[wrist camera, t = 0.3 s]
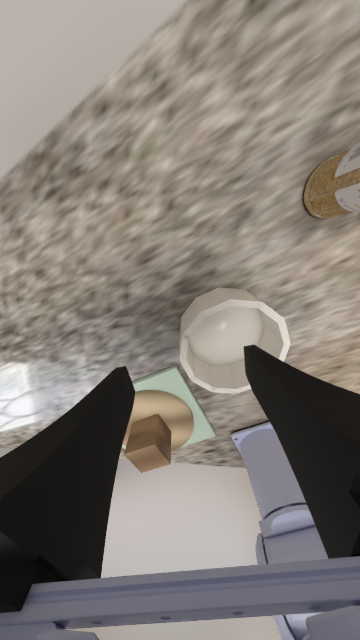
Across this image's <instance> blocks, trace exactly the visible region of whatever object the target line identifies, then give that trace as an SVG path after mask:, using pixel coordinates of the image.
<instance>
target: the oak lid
mask: <svg viewBox="0 0 360 640" xmlns="http://www.w3.org/2000/svg"><path fill="white" fill-rule="evenodd" d="M193 430H194V420H193V414H192V411H191V409H190V407H189V406H188V405H187V404H186V403H185V402H184V401H183V400H182V399H181V398H179V397H177V396H176V395H173V394H171V393H168V392H165V391H160V390H142V391H137V392H135V399H134V405H133V410H132V413H131V417H130V420H129V424H128V427H127V430H126V434H125V437H124V441H123V444H122V445H124V446H126V449H125V452H124V455H125V456H126V457H127V458H128V459H129V460H130V461H131V462H132V463H133V464H134V465H135V467H137V468H138V470H139V471H140V472H141V473H142V472H145V471H149V470H152V469H155V468H159V467H162V466H165V465H169V464H170V460H171V451H173V450H176V449H178V448H180V447H181V446H183V445H184V444H185V443H186V442H187V441H188V440H189V439H190V438H191V436H192V434H193Z"/></svg>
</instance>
